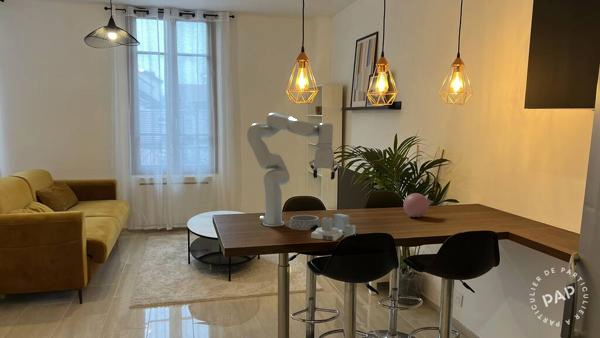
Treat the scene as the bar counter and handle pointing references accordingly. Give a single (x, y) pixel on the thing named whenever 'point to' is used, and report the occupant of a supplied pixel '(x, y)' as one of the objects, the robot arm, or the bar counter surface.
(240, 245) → the bar counter surface
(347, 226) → the spacer
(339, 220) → the medicine box
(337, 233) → the scale
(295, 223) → the dog bowl
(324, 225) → the grey block with knob
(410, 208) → the piggy bank
